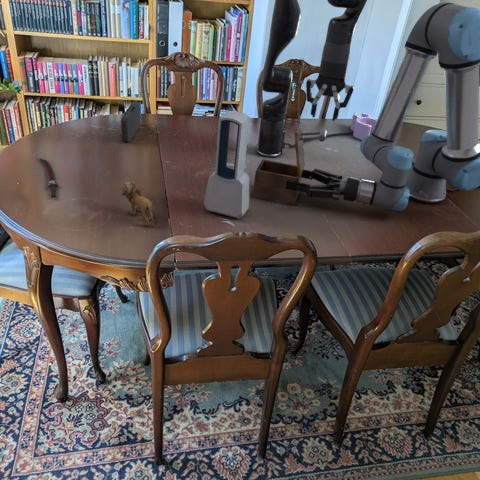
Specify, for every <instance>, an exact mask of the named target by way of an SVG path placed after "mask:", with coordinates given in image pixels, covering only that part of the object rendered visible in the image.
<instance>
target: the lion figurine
mask: <svg viewBox="0 0 480 480" xmlns="http://www.w3.org/2000/svg"><path fill="white" fill-rule="evenodd" d="M119 193H120V194H121V196H122V197H124V196H125V198H126V199H127V200H128V202H129V203H130V207H131V211H130V212H129V213H130V215H135V214H136V211H137V212H141V214H142V216H143V218H144V219H145V223H144V225H145V227H149V226H150V221H152V223H153V225H155V226H159V222H156V221H155V219H154V217H153V216H154V215H153V204H152V202H151V200H150V199H148V198H146V197H145V196H144V195H143V194H142V192H141V190H140V187H138V185H136V184H135V183H133V182H132V181H125V182H124V186H122V188H121V189H119ZM136 207H137V208H136ZM148 214H149V216H148Z"/></svg>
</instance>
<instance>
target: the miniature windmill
mask: <svg viewBox="0 0 480 480" xmlns="http://www.w3.org/2000/svg"><path fill="white" fill-rule="evenodd" d="M304 63H305V58H303V59H302V61H301V67H297V66H294V65H289V68H290V69H291V70H292V72H295V71H298V73H297V76H296V79H292V83H291V84H294V85H293V87H292V90H291V93H290V94H291V95H289V99H288V104H287V109H286V116H285V122H286V121H287V122H293V123H296V126H297V125H298V123H299V122H301V95H300V94H301V93H300V92H301V91H300V90H301V89H300V88H301V87H300V85H303V84H304V83H305V82H304V80H301V79H302V74H303V67H304ZM295 90H297V95H293V94H294V91H295ZM291 100H297V104H291ZM289 106H291V107H289ZM292 107H297V108H292ZM288 110H294V111H297V114H296V115H292V114H287V113H288ZM286 117H292V118H296V119H297V120H292V119H286Z"/></svg>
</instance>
